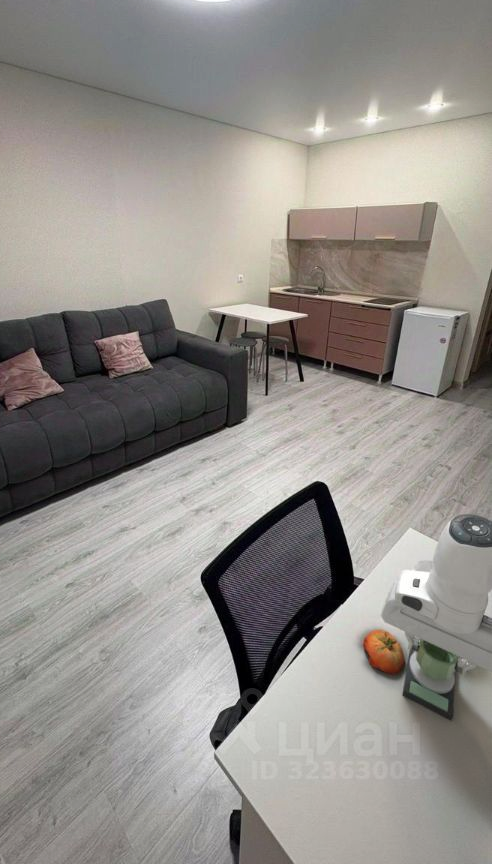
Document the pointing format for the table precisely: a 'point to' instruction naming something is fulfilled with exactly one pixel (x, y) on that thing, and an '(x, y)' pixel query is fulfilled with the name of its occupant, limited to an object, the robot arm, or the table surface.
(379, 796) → the table surface
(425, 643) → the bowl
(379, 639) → the tomato
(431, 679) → the scale
